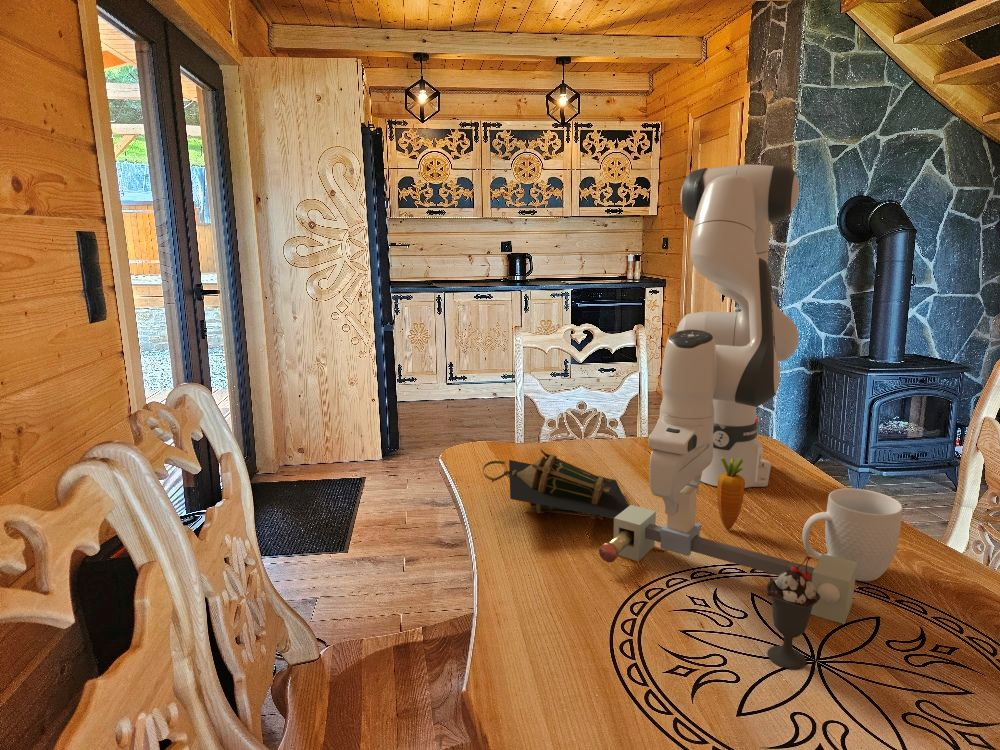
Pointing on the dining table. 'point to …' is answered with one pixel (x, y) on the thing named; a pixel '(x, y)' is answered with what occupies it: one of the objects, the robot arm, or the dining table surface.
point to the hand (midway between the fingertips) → (681, 503)
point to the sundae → (791, 613)
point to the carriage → (681, 524)
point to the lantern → (562, 488)
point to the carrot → (730, 493)
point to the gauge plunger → (616, 545)
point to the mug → (859, 530)
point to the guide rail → (750, 562)
